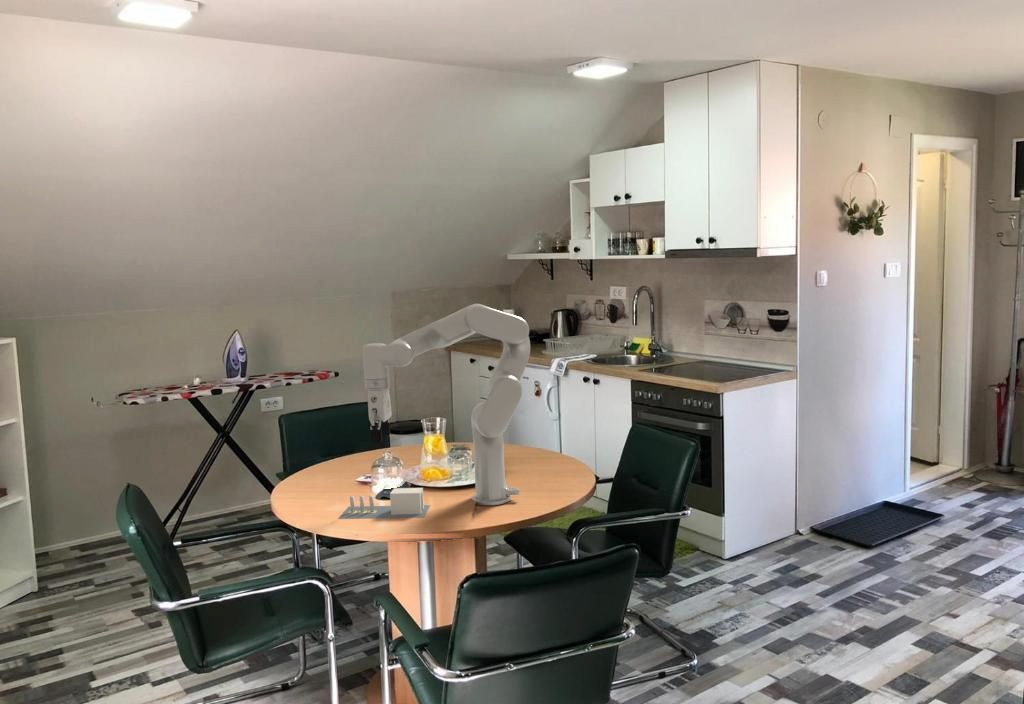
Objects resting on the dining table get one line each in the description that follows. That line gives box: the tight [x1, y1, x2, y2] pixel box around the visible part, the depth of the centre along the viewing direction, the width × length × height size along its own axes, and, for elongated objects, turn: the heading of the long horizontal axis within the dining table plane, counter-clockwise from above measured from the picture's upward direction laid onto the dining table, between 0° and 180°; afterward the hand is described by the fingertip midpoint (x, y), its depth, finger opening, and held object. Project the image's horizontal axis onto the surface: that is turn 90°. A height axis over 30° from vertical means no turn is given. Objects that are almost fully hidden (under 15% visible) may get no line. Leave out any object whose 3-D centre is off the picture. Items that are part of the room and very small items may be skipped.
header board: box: [337, 495, 431, 520], centre depth 256 cm, size 26×12×6 cm, turn 86°
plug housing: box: [389, 487, 425, 515], centre depth 255 cm, size 9×6×6 cm, turn 86°
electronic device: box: [375, 482, 412, 500], centre depth 276 cm, size 9×6×15 cm
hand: (381, 438), depth 259 cm, fingers open, 9 cm apart
